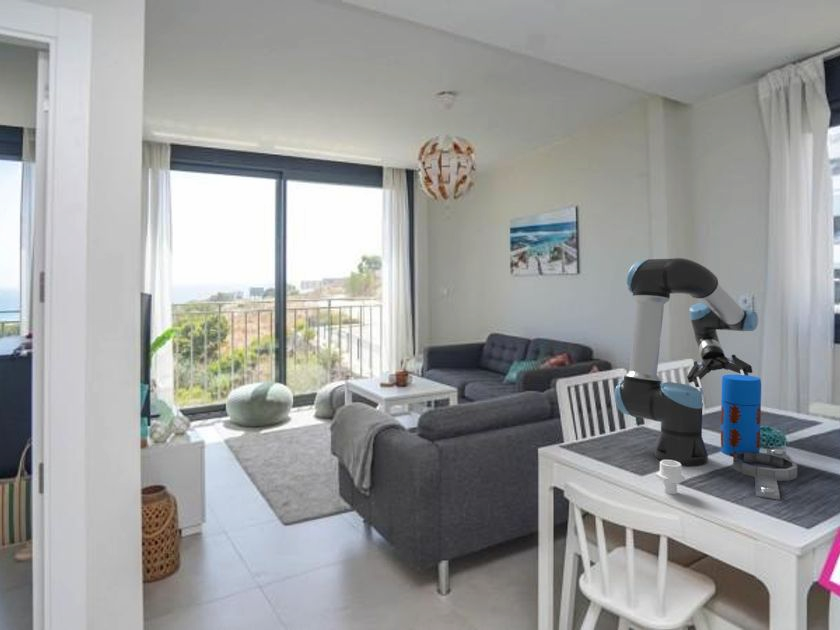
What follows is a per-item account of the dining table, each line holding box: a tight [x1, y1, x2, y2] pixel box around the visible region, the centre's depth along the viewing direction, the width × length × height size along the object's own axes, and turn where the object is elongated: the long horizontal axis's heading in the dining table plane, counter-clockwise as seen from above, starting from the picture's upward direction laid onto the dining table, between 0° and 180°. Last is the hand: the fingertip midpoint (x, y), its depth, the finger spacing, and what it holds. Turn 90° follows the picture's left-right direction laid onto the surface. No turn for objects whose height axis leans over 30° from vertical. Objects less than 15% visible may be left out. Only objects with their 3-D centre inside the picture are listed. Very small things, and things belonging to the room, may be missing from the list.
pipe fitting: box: [655, 460, 686, 495], centre depth 136 cm, size 6×7×8 cm
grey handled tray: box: [732, 448, 798, 501], centre depth 148 cm, size 16×41×3 cm, turn 148°
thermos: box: [720, 374, 762, 458], centre depth 164 cm, size 11×11×25 cm
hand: (723, 387), depth 173 cm, fingers open, 13 cm apart
